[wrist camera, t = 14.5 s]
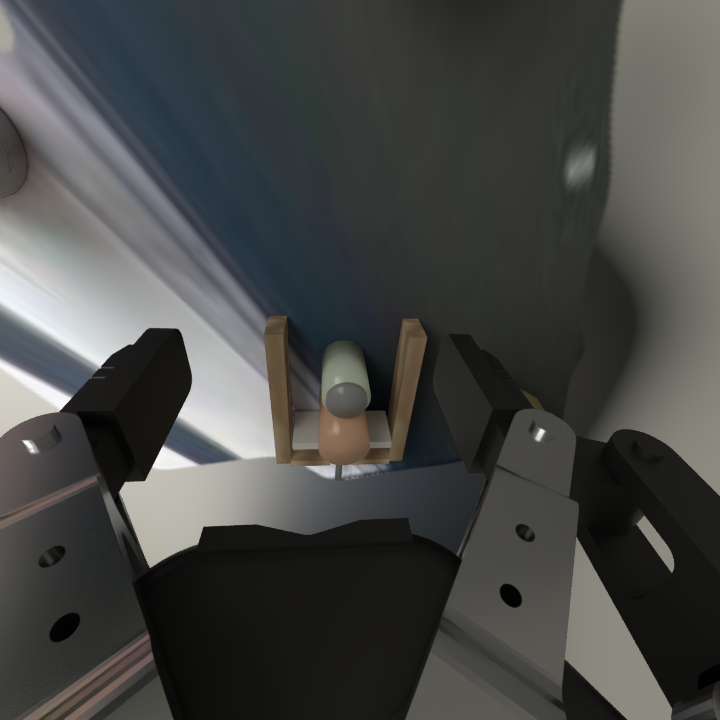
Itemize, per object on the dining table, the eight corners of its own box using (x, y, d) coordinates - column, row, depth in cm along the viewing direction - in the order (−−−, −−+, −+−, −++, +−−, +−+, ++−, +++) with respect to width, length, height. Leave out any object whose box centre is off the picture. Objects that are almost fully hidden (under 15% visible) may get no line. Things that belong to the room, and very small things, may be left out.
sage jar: (321, 374, 46) (321, 421, 39) (322, 339, 43) (321, 383, 36) (362, 375, 47) (369, 421, 40) (365, 340, 44) (374, 383, 36)
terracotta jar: (320, 409, 50) (319, 466, 41) (318, 376, 46) (317, 430, 38) (361, 408, 50) (368, 463, 42) (362, 375, 47) (371, 428, 39)
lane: (280, 439, 52) (276, 466, 48) (269, 315, 41) (263, 337, 36) (396, 437, 54) (402, 463, 50) (418, 318, 43) (428, 339, 38)
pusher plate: (298, 471, 56) (295, 504, 51) (295, 411, 49) (292, 443, 44) (376, 468, 58) (381, 500, 53) (385, 410, 50) (391, 441, 46)
